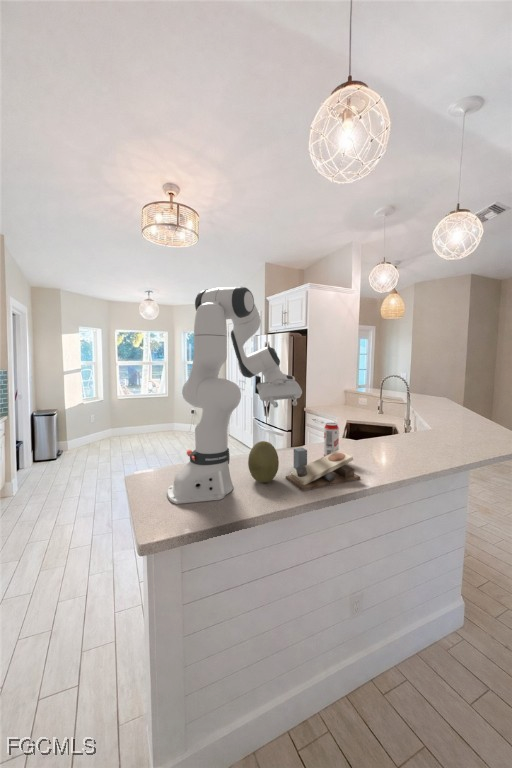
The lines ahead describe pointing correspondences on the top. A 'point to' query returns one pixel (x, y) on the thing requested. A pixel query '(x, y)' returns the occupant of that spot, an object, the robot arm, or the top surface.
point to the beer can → (331, 438)
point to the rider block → (300, 457)
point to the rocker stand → (327, 478)
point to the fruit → (263, 462)
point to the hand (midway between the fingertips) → (286, 405)
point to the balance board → (321, 467)
